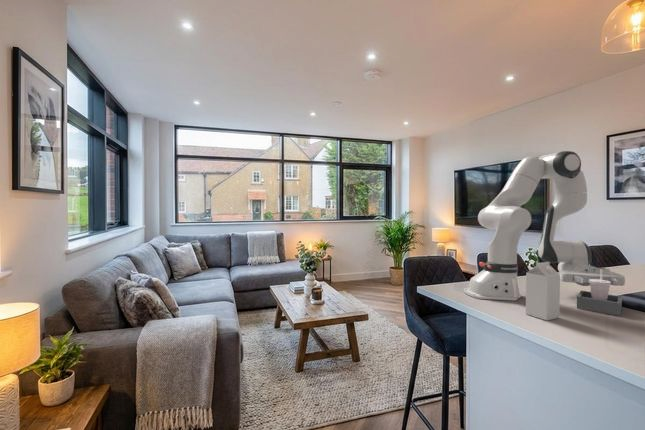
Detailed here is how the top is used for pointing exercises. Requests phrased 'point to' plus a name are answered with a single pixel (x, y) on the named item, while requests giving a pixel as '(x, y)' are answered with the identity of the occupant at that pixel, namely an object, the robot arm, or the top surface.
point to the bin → (600, 303)
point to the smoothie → (599, 288)
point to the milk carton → (543, 292)
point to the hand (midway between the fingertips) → (600, 282)
